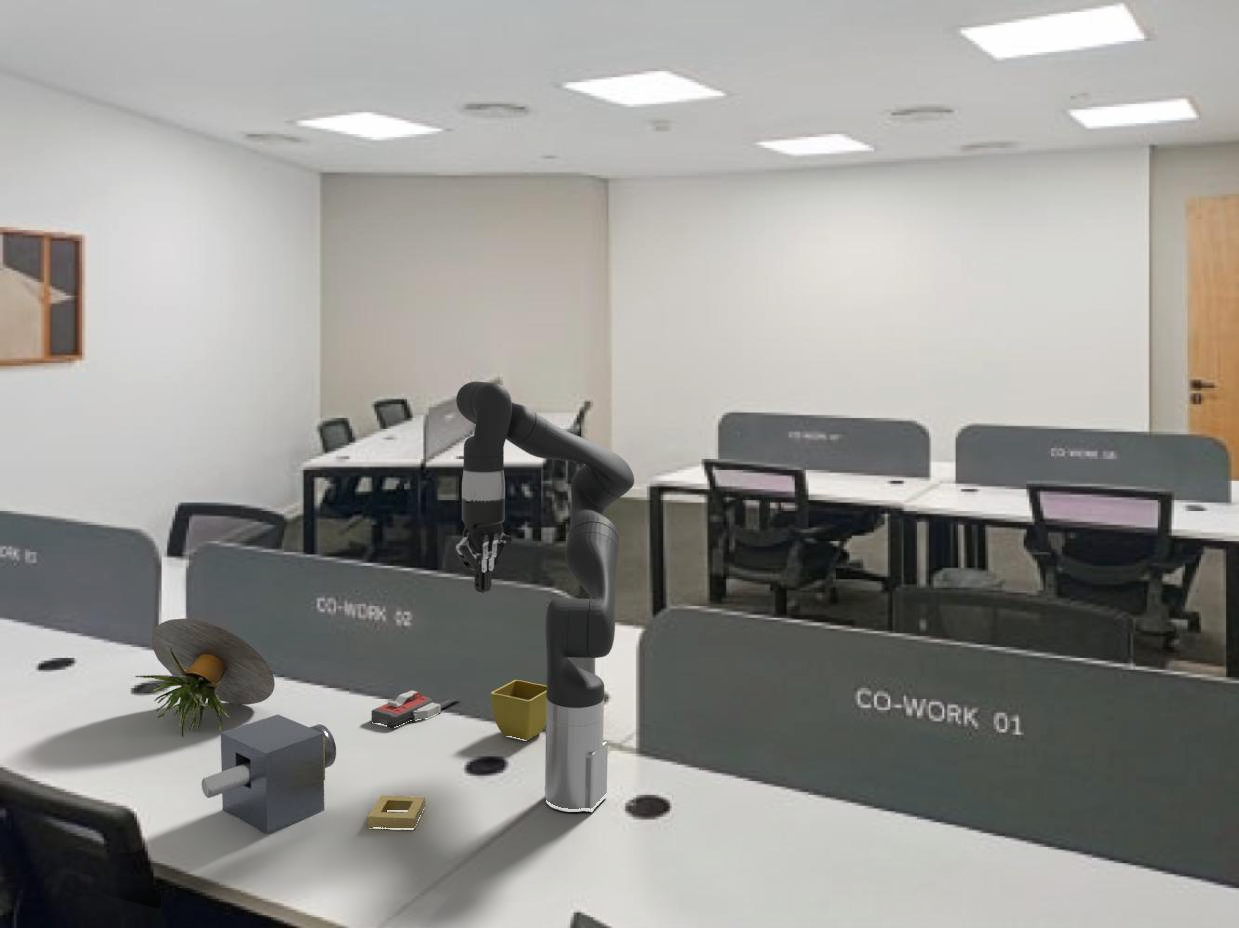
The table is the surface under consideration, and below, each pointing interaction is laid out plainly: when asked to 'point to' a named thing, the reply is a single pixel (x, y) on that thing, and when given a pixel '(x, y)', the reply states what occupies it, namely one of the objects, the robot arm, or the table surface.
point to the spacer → (396, 820)
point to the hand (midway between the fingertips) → (482, 591)
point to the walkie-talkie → (406, 709)
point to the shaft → (243, 772)
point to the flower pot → (520, 709)
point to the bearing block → (275, 772)
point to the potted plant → (207, 668)
